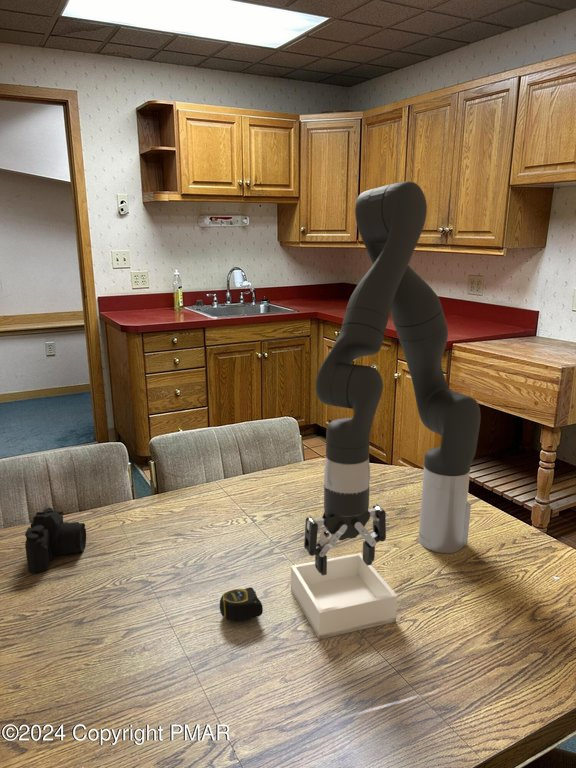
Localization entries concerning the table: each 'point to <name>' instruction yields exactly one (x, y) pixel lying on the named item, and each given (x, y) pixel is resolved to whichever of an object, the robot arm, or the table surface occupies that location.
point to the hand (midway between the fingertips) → (344, 567)
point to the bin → (343, 596)
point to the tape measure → (240, 605)
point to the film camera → (52, 539)
